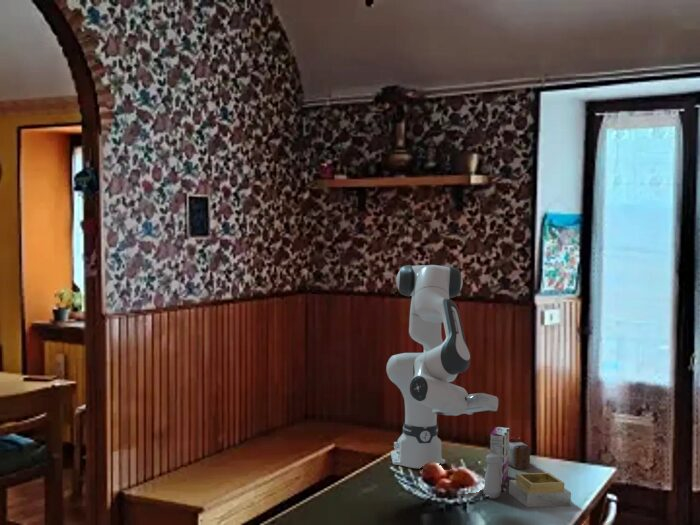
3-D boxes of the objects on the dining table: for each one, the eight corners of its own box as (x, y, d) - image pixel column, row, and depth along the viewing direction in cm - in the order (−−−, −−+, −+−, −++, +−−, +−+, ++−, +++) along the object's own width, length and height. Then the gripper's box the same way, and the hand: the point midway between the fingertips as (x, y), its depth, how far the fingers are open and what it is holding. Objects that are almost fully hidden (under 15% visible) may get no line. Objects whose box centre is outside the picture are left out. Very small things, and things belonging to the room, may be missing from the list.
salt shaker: (500, 500, 260) (502, 458, 260) (481, 498, 262) (483, 456, 261) (501, 494, 266) (502, 453, 266) (482, 492, 267) (484, 451, 267)
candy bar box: (493, 474, 288) (495, 426, 288) (508, 476, 287) (510, 427, 286) (487, 483, 278) (489, 433, 277) (503, 485, 276) (505, 435, 276)
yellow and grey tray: (508, 492, 268) (509, 472, 268) (550, 491, 271) (551, 471, 271) (527, 507, 255) (527, 485, 254) (570, 505, 257) (571, 484, 257)
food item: (494, 459, 308) (495, 432, 307) (513, 458, 310) (514, 431, 310) (513, 470, 295) (514, 441, 294) (533, 468, 298) (534, 440, 297)
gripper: (481, 385, 250) (510, 396, 258) (429, 393, 264) (459, 403, 272) (480, 406, 247) (510, 416, 255) (428, 413, 262) (458, 423, 270)
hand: (483, 410), depth 264 cm, fingers open, 8 cm apart
